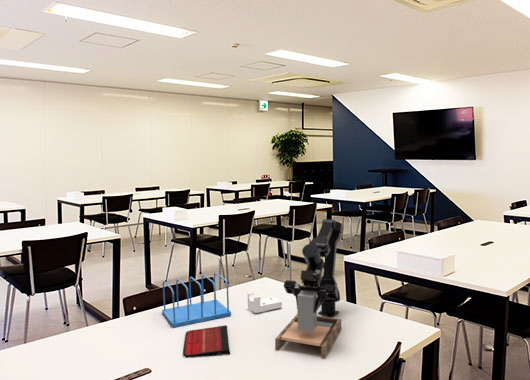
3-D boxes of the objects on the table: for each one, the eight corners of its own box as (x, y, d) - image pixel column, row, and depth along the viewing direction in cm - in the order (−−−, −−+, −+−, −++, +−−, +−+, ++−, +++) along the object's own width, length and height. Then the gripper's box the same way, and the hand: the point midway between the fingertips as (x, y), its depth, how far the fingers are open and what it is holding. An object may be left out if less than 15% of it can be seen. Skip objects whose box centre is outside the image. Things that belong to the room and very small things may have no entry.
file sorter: (216, 303, 196) (216, 270, 195) (231, 316, 181) (230, 280, 179) (161, 313, 185) (160, 278, 184) (172, 328, 170) (171, 290, 168)
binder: (227, 324, 168) (230, 349, 147) (227, 330, 168) (230, 356, 147) (185, 329, 166) (182, 355, 145) (185, 334, 166) (182, 361, 145)
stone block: (302, 324, 155) (301, 290, 154) (317, 326, 153) (316, 292, 152) (297, 330, 150) (297, 295, 148) (313, 332, 148) (312, 297, 146)
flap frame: (297, 322, 173) (297, 313, 173) (341, 329, 166) (341, 319, 166) (275, 349, 150) (275, 338, 150) (324, 358, 143) (324, 347, 143)
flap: (299, 325, 169) (299, 315, 168) (334, 331, 163) (334, 320, 163) (281, 348, 150) (281, 336, 150) (320, 354, 145) (320, 343, 145)
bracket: (255, 315, 182) (254, 297, 181) (247, 309, 188) (247, 293, 188) (281, 309, 188) (281, 292, 188) (273, 304, 194) (273, 288, 194)
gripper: (284, 258, 156) (275, 298, 147) (336, 262, 149) (329, 304, 140) (291, 273, 164) (282, 312, 155) (340, 278, 157) (334, 318, 148)
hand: (306, 311), depth 149 cm, fingers closed on stone block, 5 cm apart
